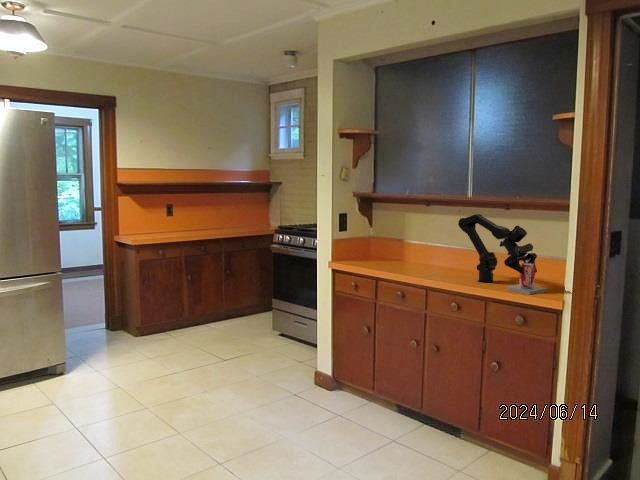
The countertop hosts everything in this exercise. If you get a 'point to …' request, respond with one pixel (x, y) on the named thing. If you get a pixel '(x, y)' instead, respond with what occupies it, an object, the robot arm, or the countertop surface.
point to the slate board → (527, 291)
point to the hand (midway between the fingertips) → (530, 273)
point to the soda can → (527, 276)
